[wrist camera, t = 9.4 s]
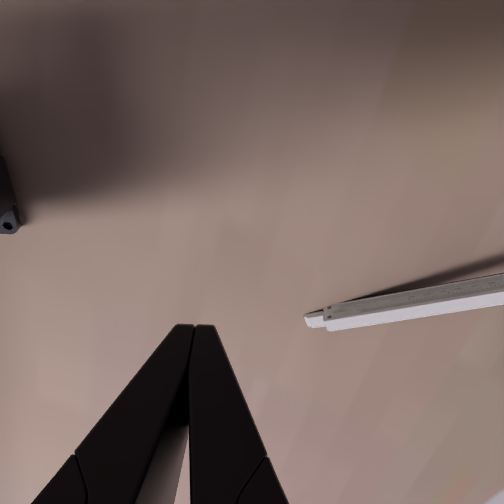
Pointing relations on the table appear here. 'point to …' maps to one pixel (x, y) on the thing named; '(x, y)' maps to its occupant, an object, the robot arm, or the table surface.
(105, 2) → the table surface
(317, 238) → the table surface
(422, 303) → the caliper
